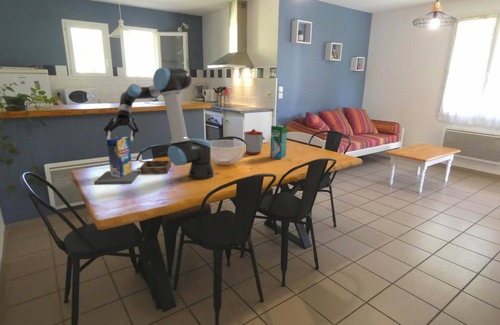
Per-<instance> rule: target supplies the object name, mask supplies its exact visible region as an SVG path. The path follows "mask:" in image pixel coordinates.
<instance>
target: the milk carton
mask: <svg viewBox="0 0 500 325" xmlns="http://www.w3.org/2000/svg"><path fill="white" fill-rule="evenodd" d="M270 129H271V131H270V151H269V154H270V155H269V158H270V157H274V158H273V159H275V158H279V159H278V160H282V159H284V158H283V157H285V156H286V154H287V137H288V127H284V126H283V125H277V126H275V125H271V126H270ZM281 158H282V159H281ZM285 158H286V157H285Z"/></svg>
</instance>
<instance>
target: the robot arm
mask: <svg viewBox="0 0 500 325" xmlns="http://www.w3.org/2000/svg"><path fill="white" fill-rule="evenodd" d="M192 80H193V79H192V75H191V74H190V72H188V70H186V69H185V68H178V67H177V68H175V67H159V68H157V69H156V70H155V72H154V74H153V80H152V82H153V84H152V85H149V86H140V85H138V84H136V83H132V84H130V85H129V86H128V88H126V89H127V90H125V91H124V92H122V93H121V95H120V100H119V105H118V110H117V116H116V118H113V117H112V118H111V119H110V121H109V122H108V124H107V125H105V127H104V128H103V131H104V132H105V133H106V134H105V135H106V141H107V140H108V139H111V136H112V135H111V134H112V133H111V132H112V131H113V130H115V129H116V128H118V127H121V126H122V127H123V126H124V127H125V126H127V127H128V128H129V129H130V130H131V131H130V132H131V133H130V137H129V141H130V142H131V143H133V141H134V137H136V133H139V132H140V130H139V128H138V126H137V124H136V122H135V118H134V117H132V118H131V113H132V107H133V104H134V102H135V101H136V100H145V99H153V100H154V99H157V98H159V96H162V97H163V100H164V105H165V110H166V115H167V120H168V124H169V125H168V126H169V131H170V135H171V141H170V142H169V143H170V144H169V147H168V149H167V157H168V159H169V161H171V164H173V165H175V166H177V167H178V166H185V165H186V164H190V167H189V172H188V176H189V178H190V179H193V180H207V179H211V178H213V177H214V173H215V172H214V169H213V167H212V164H211V142H210V140H209V139H203V138H189V137H188V133H187V128H186V122H185V118H184V113H183V107H182V101H181V96H180V95H181V94H182V90H186V89H188V88H189V87H190V86H191V85H192ZM130 123H132V125H133V126H134V127H133V126H132V125H131V124H130Z"/></svg>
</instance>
